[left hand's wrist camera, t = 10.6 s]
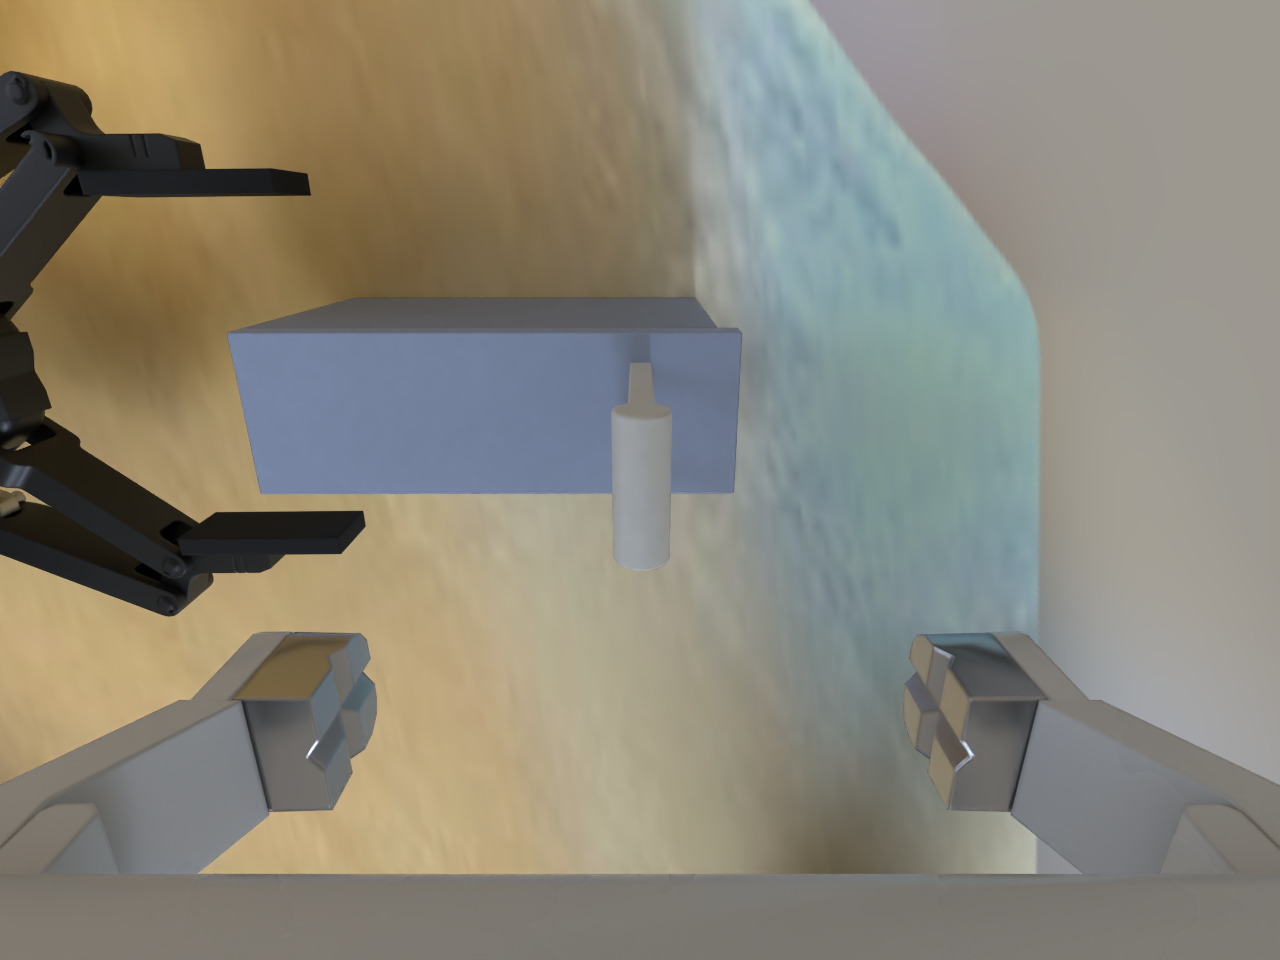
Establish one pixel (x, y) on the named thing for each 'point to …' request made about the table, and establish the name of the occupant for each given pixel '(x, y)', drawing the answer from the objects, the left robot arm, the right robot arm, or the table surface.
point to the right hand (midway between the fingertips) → (326, 372)
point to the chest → (501, 313)
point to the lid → (497, 415)
